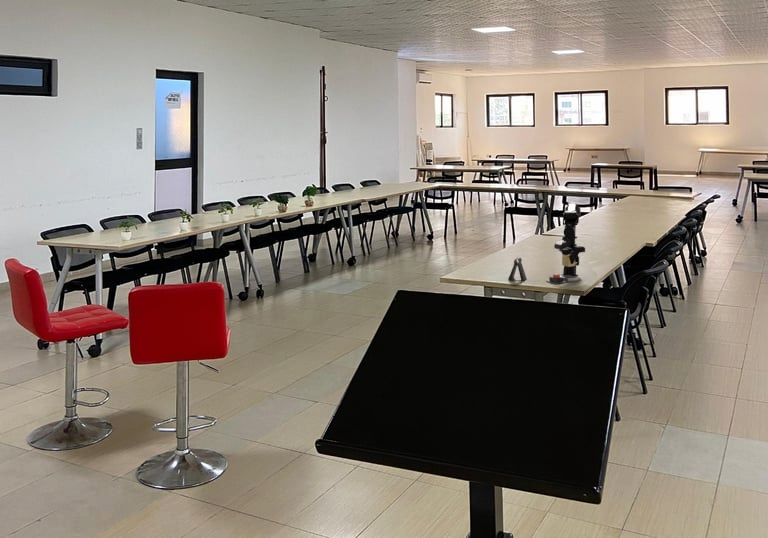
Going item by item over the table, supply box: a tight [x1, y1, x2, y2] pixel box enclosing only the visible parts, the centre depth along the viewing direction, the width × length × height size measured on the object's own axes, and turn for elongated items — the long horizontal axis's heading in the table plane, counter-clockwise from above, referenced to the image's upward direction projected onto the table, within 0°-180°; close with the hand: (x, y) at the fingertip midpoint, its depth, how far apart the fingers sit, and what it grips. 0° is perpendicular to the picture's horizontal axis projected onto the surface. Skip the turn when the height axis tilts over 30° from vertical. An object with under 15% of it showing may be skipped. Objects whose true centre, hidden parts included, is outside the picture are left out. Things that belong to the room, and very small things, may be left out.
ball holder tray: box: [546, 275, 580, 285], centre depth 409 cm, size 16×8×3 cm, turn 117°
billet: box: [562, 254, 575, 267], centre depth 409 cm, size 4×4×6 cm
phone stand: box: [507, 257, 527, 282], centre depth 414 cm, size 9×6×12 cm, turn 68°
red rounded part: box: [552, 273, 561, 278], centre depth 407 cm, size 3×3×3 cm
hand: (569, 263), depth 409 cm, fingers closed on billet, 4 cm apart
